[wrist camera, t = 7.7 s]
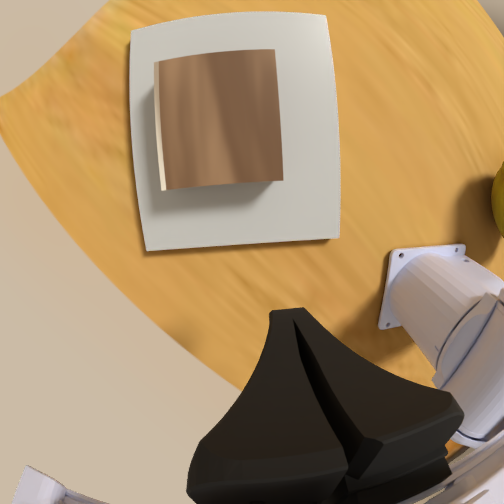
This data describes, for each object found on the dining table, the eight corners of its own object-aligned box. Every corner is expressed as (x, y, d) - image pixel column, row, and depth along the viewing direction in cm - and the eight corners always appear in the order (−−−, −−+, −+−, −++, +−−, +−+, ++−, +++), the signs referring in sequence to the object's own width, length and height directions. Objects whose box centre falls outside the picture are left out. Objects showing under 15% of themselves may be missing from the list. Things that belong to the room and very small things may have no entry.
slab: (274, 49, 12) (153, 62, 12) (283, 180, 15) (161, 190, 15) (270, 62, 15) (165, 73, 14) (277, 176, 17) (172, 185, 17)
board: (322, 20, 14) (325, 15, 13) (335, 233, 20) (339, 237, 19) (135, 35, 14) (131, 30, 13) (150, 246, 20) (146, 251, 19)
